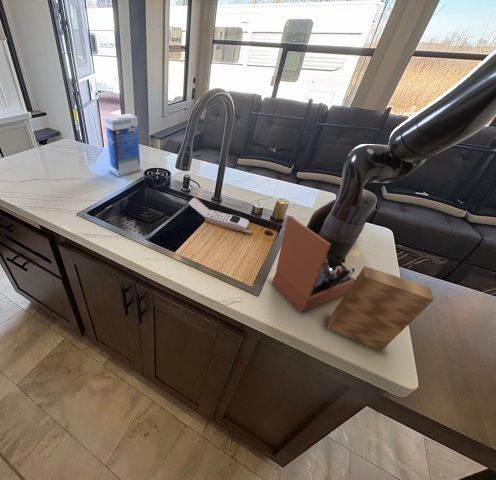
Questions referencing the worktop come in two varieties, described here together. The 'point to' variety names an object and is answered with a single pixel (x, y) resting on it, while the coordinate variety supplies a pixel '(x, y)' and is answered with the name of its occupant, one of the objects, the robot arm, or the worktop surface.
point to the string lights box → (123, 143)
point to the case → (316, 296)
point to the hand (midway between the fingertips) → (312, 281)
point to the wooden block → (378, 307)
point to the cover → (301, 256)
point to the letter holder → (320, 217)
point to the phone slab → (320, 280)
